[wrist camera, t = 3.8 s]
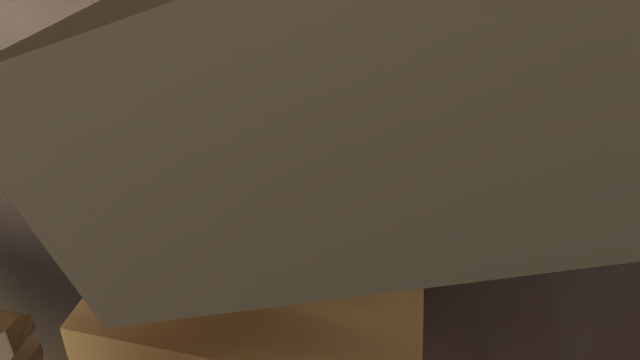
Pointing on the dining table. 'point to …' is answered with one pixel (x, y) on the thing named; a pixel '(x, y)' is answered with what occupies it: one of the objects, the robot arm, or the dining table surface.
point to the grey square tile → (321, 147)
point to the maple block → (262, 333)
